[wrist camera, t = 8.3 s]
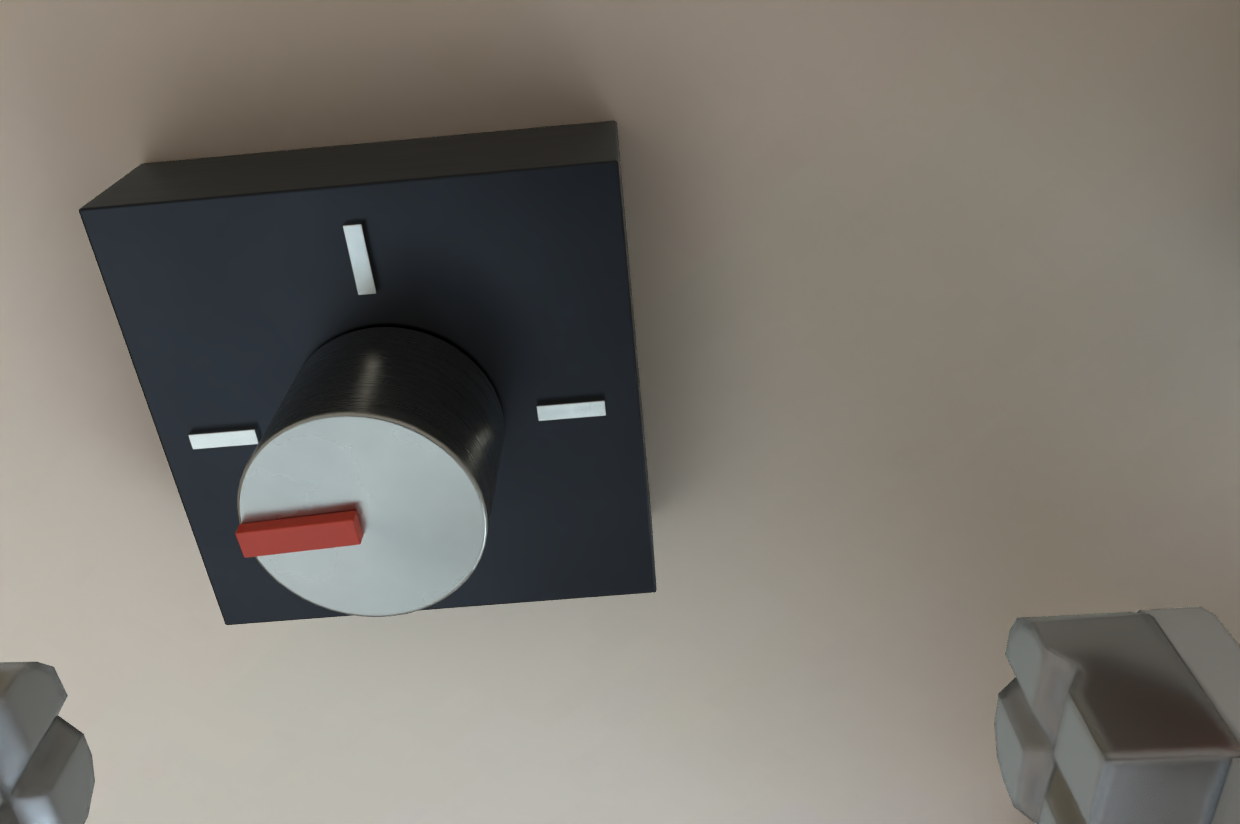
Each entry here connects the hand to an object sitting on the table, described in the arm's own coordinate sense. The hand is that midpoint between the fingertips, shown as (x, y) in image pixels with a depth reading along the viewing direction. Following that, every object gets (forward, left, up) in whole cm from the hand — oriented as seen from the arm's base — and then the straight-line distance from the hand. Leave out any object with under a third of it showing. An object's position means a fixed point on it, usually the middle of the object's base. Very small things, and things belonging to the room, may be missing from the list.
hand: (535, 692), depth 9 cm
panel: (-4, +4, -15) cm, 16 cm away
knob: (-4, +4, -12) cm, 13 cm away
